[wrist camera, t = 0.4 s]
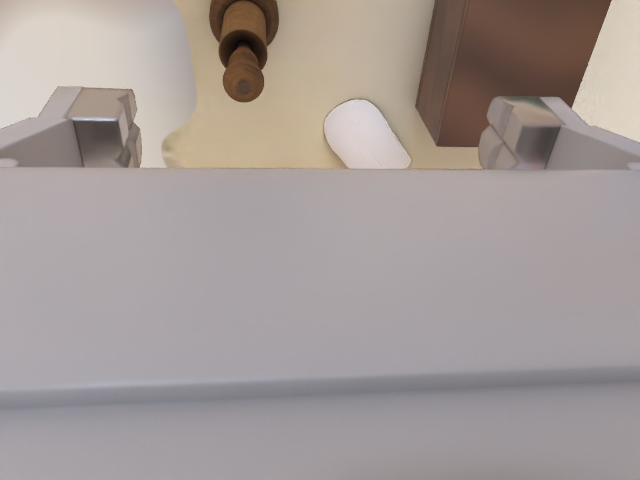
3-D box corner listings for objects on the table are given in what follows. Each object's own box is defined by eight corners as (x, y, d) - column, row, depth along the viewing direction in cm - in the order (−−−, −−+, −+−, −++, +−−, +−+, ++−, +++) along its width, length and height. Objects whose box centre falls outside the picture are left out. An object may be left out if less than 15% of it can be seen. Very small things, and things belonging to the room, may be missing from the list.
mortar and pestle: (211, -29, 52) (199, 36, 38) (281, -19, 53) (294, 48, 39) (209, 43, 56) (196, 126, 42) (273, 51, 57) (282, 134, 43)
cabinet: (441, -37, 53) (471, -11, 46) (565, -30, 55) (613, -4, 48) (415, 106, 62) (436, 146, 55) (522, 109, 64) (556, 148, 57)
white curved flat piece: (369, 193, 69) (372, 204, 67) (313, 122, 62) (315, 132, 60) (416, 163, 67) (421, 174, 65) (364, 87, 60) (368, 96, 58)
